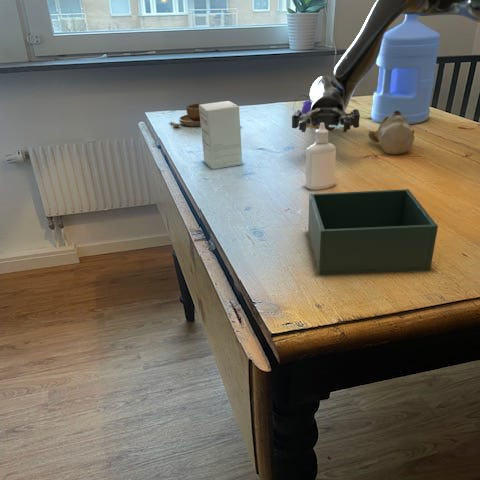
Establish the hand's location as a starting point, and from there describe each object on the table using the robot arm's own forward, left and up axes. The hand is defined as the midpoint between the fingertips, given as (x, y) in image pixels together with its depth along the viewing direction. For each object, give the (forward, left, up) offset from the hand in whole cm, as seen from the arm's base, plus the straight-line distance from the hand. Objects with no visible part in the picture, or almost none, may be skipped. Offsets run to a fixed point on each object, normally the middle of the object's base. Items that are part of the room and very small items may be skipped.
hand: (324, 127), depth 103 cm
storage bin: (-1, +39, -9) cm, 40 cm away
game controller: (-4, -50, -9) cm, 51 cm away
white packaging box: (+22, -9, -9) cm, 25 cm away
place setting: (+29, -48, -9) cm, 56 cm away
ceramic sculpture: (-18, -14, -9) cm, 24 cm away
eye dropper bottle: (+2, +10, -9) cm, 14 cm away
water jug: (-27, -43, -9) cm, 51 cm away
